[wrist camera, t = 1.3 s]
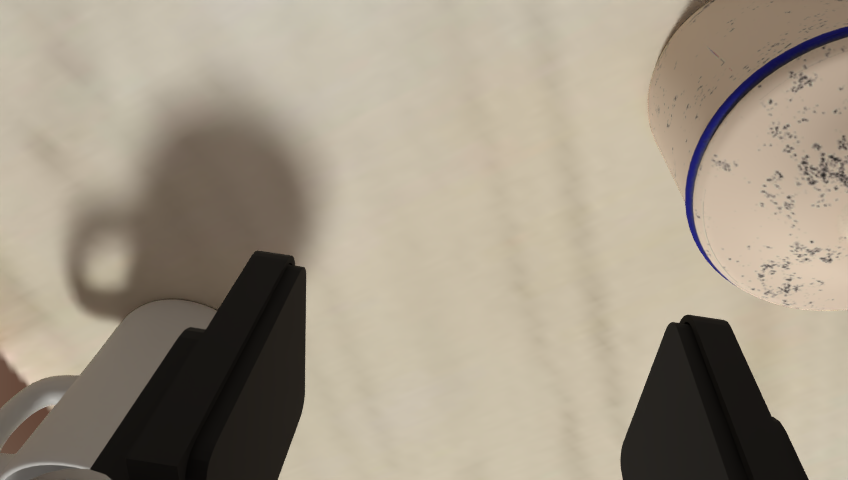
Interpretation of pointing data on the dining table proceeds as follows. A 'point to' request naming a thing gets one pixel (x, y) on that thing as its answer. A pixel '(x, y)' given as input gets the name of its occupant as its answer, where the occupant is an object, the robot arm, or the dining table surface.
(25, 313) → the dining table surface
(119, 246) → the dining table surface
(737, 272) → the teacup with lid
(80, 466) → the mug
